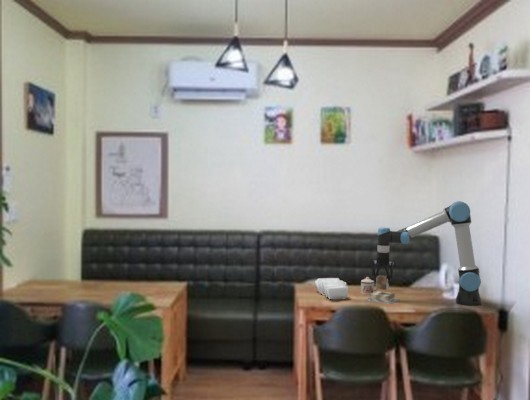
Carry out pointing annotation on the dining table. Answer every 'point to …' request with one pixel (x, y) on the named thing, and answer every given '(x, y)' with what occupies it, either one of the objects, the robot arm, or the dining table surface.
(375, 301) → the plan mat
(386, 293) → the riser block
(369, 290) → the teacup with lid
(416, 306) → the dining table surface
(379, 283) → the walnut block
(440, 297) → the dining table surface
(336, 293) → the white wavy slab sculpture
